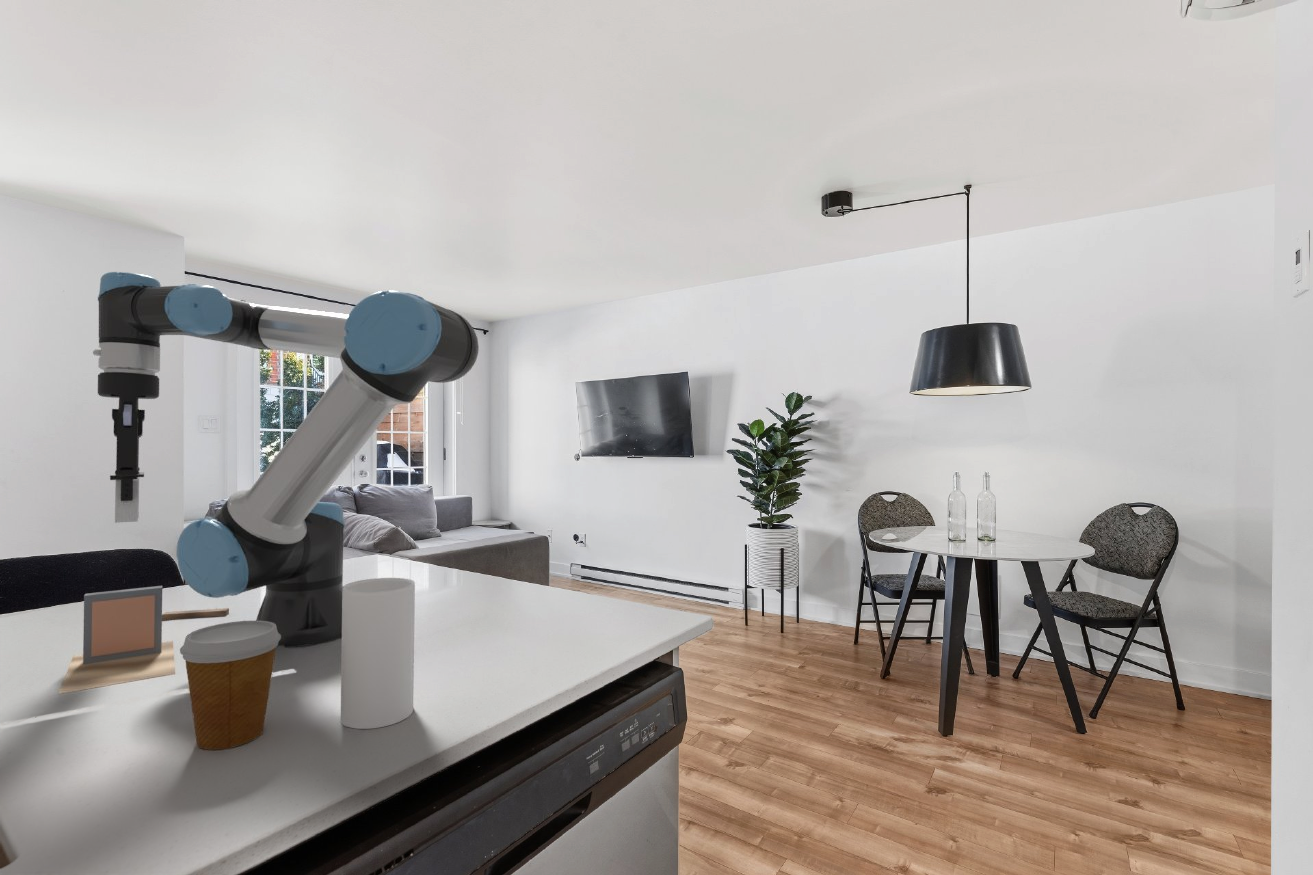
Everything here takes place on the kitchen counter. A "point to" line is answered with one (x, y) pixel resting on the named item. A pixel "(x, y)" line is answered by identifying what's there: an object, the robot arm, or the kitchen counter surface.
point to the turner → (194, 614)
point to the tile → (122, 624)
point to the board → (118, 670)
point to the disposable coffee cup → (230, 680)
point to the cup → (377, 652)
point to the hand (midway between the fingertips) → (127, 519)
